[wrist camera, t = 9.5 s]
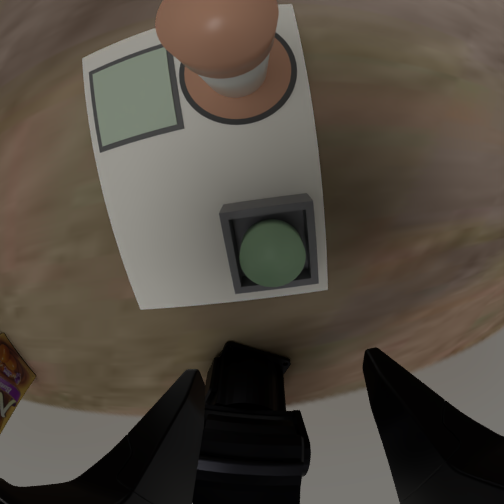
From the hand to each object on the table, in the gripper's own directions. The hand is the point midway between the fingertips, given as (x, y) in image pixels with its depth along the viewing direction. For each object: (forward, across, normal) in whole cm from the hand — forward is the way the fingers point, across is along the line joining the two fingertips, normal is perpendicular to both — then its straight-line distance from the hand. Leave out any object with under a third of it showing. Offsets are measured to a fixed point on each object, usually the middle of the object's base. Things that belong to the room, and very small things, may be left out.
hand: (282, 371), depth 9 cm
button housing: (+12, 0, 0) cm, 12 cm away
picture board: (+13, +4, -6) cm, 15 cm away
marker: (+12, 0, -12) cm, 17 cm away
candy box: (+13, +40, +13) cm, 45 cm away
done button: (+10, 0, 0) cm, 10 cm away
